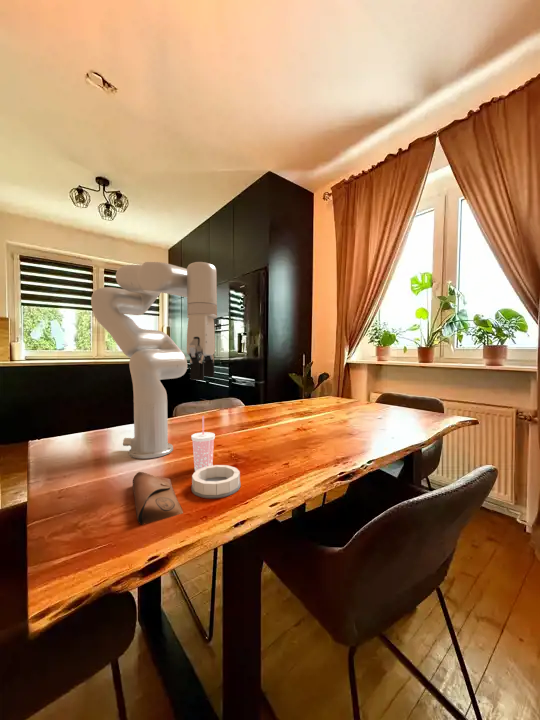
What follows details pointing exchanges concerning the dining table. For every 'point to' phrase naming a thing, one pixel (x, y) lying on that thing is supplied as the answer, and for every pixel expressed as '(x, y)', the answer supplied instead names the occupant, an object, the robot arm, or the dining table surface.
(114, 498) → the dining table surface
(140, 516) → the sunglasses case
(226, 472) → the cup holder ring
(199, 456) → the beverage cup
